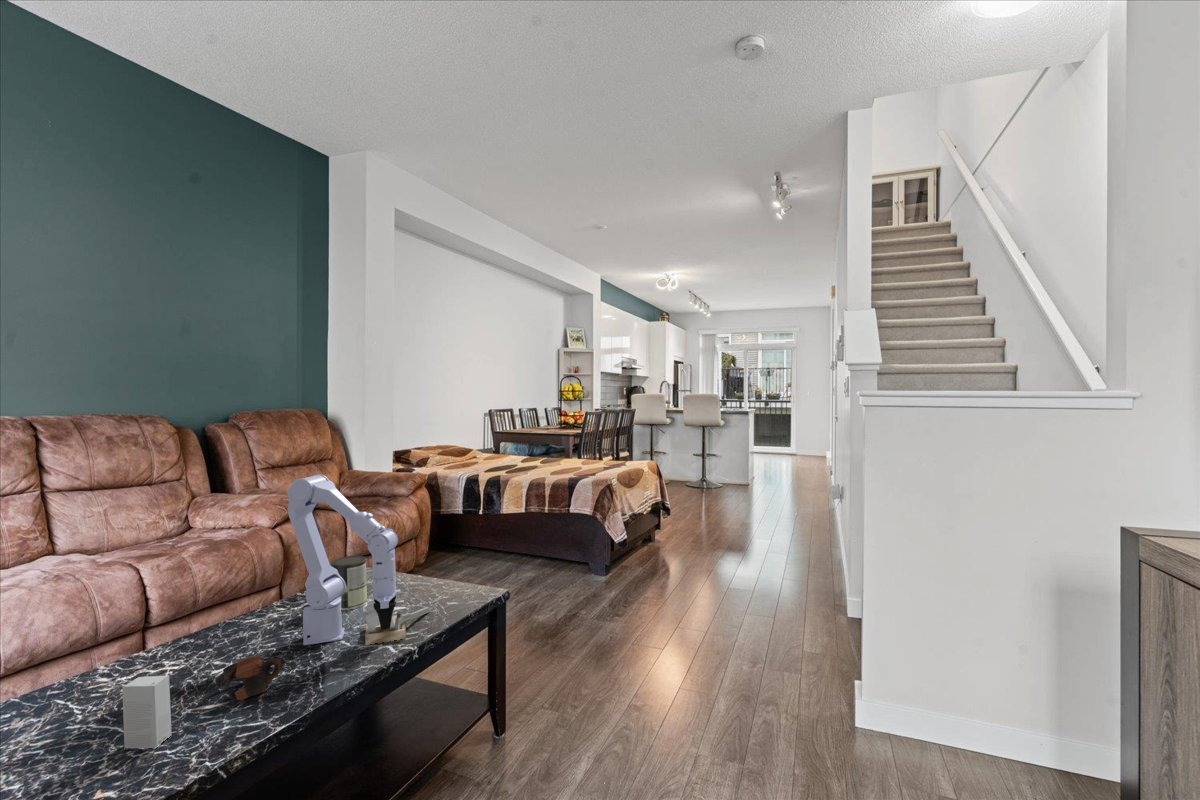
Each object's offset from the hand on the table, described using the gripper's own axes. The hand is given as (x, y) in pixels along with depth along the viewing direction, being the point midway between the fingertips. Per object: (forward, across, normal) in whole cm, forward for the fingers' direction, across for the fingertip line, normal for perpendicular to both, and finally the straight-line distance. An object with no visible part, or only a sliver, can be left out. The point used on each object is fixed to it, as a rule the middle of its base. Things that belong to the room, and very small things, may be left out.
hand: (385, 626), depth 156 cm
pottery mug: (+3, -18, +28) cm, 33 cm away
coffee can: (+3, +32, +11) cm, 34 cm away
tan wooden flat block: (+3, +3, 0) cm, 4 cm away
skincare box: (+3, -34, +42) cm, 54 cm away
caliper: (+3, +7, -8) cm, 11 cm away
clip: (+2, 0, +1) cm, 2 cm away
